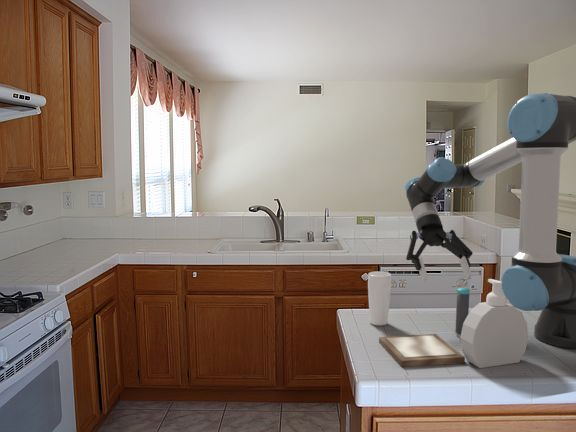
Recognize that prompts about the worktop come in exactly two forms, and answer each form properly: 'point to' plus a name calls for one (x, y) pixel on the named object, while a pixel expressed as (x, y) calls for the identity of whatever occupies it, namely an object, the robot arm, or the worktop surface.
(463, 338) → the soap bottle
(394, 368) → the worktop surface
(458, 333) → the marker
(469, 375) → the worktop surface
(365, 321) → the worktop surface
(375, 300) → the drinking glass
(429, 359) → the writing board
